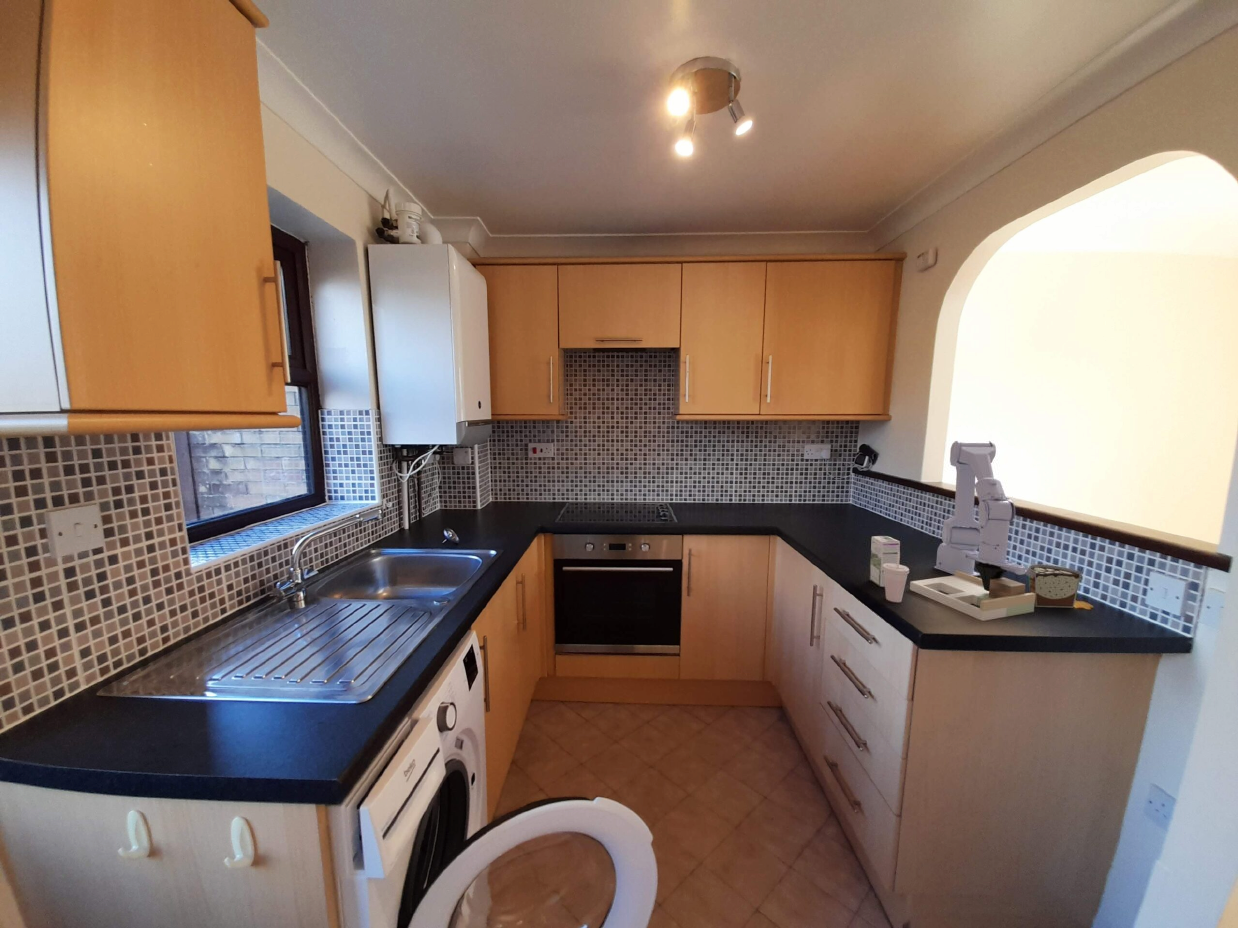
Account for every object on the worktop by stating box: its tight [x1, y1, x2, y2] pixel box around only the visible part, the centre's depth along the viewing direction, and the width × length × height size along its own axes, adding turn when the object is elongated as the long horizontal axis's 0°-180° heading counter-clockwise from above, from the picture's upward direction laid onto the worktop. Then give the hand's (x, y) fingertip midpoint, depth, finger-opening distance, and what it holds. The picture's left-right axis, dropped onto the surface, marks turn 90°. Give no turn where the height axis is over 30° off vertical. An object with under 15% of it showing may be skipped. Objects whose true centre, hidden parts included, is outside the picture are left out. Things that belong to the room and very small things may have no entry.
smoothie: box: [882, 552, 910, 603], centre depth 117 cm, size 6×6×14 cm
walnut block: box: [989, 577, 1026, 599], centre depth 111 cm, size 5×5×5 cm
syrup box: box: [869, 535, 901, 588], centre depth 128 cm, size 6×6×14 cm
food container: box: [1025, 563, 1084, 609], centre depth 114 cm, size 12×6×10 cm, turn 84°
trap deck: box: [909, 571, 1035, 622], centre depth 116 cm, size 20×18×5 cm
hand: (988, 590), depth 115 cm, fingers closed
